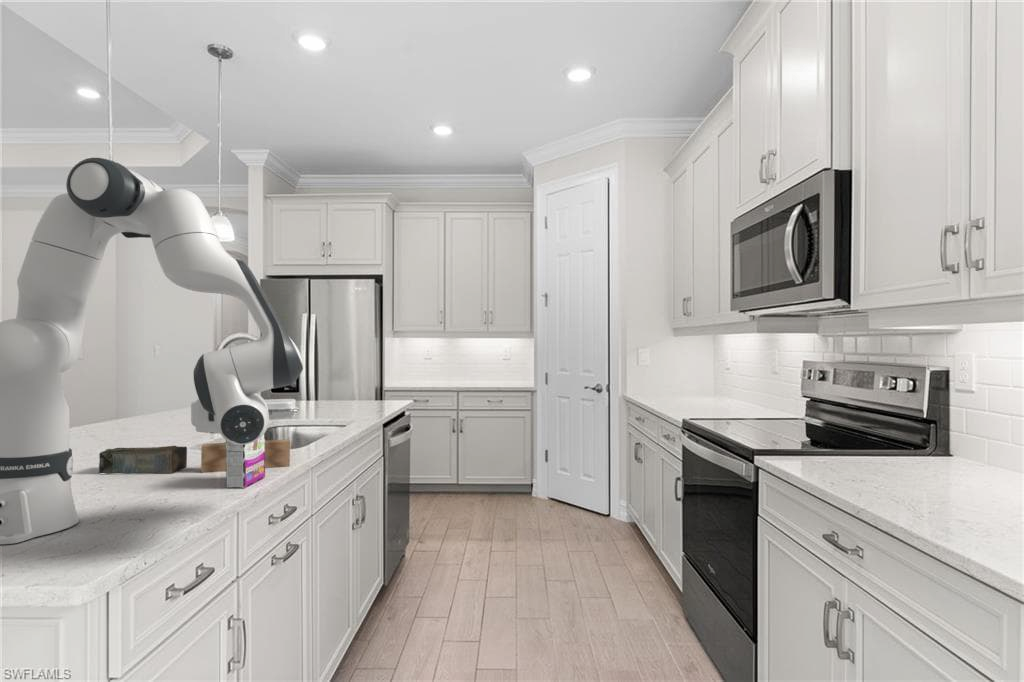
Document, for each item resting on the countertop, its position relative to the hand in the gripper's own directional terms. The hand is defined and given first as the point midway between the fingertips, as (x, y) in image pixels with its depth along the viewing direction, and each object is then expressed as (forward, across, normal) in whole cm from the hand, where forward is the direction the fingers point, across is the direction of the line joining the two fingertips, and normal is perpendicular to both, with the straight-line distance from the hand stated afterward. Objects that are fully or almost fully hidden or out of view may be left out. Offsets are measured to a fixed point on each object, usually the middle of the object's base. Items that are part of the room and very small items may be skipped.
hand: (245, 406), depth 128 cm
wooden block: (+35, 0, +21) cm, 41 cm away
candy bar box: (+17, 0, +21) cm, 27 cm away
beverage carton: (+41, +26, +21) cm, 53 cm away
